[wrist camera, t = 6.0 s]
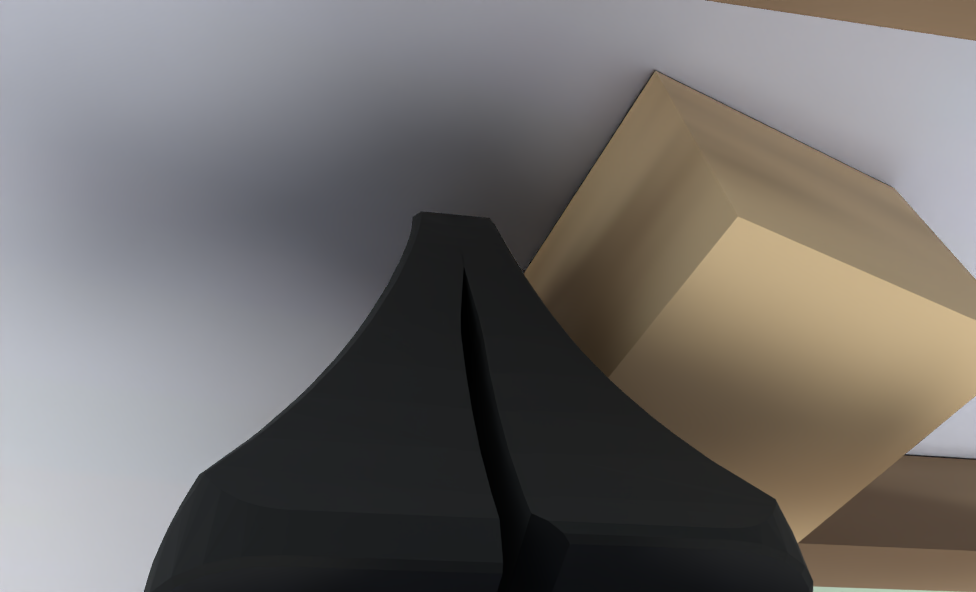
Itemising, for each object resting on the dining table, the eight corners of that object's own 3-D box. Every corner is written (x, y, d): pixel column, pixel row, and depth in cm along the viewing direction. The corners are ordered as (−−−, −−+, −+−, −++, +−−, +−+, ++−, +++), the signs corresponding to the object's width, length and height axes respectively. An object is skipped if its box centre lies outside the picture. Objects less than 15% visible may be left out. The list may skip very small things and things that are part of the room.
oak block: (663, 439, 17) (716, 610, 14) (457, 376, 16) (466, 553, 13) (894, 188, 14) (1034, 346, 10) (654, 70, 12) (737, 216, 9)
